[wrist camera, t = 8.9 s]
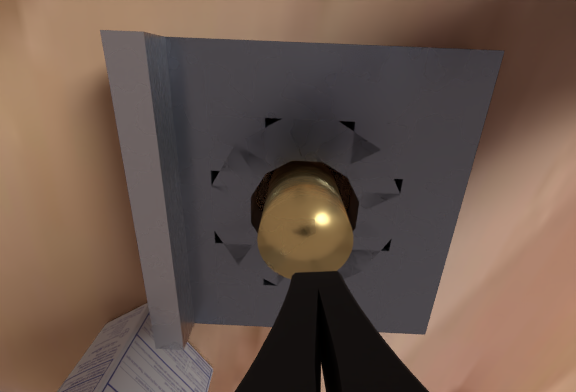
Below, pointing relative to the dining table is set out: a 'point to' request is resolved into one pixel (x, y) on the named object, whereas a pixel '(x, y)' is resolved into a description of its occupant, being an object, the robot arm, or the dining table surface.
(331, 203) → the cylinder
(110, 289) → the dining table surface
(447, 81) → the jig
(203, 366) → the medicine box
